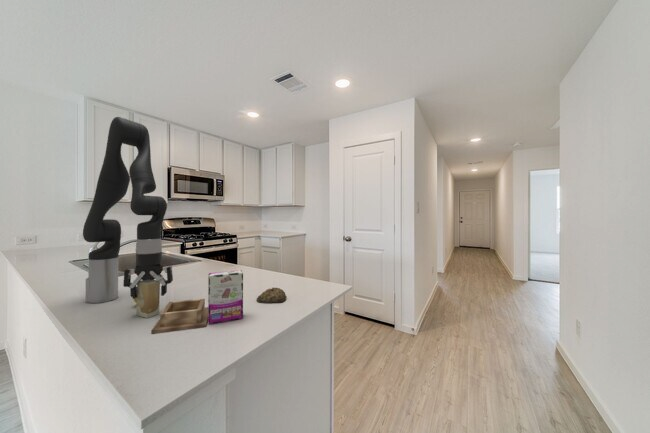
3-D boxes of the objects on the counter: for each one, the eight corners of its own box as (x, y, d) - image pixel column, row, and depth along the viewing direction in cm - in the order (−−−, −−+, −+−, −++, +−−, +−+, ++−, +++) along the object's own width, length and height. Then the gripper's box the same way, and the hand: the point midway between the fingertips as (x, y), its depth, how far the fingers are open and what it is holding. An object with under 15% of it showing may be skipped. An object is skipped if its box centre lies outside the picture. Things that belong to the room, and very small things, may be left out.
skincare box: (135, 315, 87) (136, 281, 86) (148, 311, 91) (148, 278, 90) (147, 318, 84) (147, 283, 84) (160, 314, 88) (160, 280, 88)
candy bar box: (241, 313, 90) (241, 269, 90) (243, 319, 86) (243, 272, 85) (207, 319, 85) (208, 272, 85) (207, 325, 80) (208, 275, 80)
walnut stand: (151, 333, 74) (151, 317, 74) (164, 314, 88) (164, 300, 88) (206, 326, 79) (206, 311, 79) (210, 309, 93) (210, 296, 93)
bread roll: (283, 304, 100) (283, 292, 100) (253, 304, 101) (254, 292, 101) (288, 294, 113) (289, 283, 113) (262, 293, 113) (262, 283, 113)
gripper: (174, 249, 93) (174, 291, 93) (129, 250, 88) (129, 295, 88) (169, 252, 86) (169, 297, 86) (120, 254, 81) (120, 302, 81)
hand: (149, 296), depth 87 cm, fingers open, 8 cm apart
